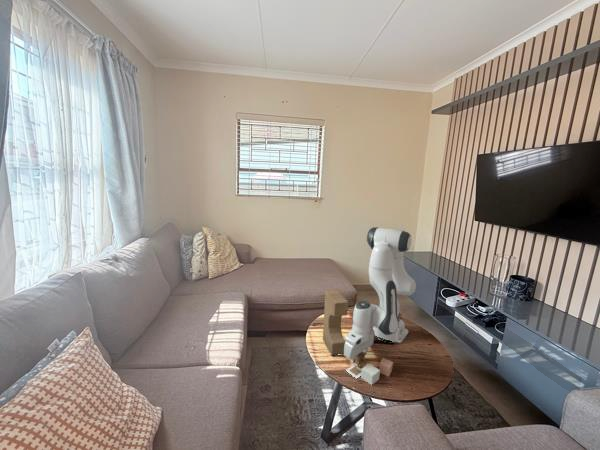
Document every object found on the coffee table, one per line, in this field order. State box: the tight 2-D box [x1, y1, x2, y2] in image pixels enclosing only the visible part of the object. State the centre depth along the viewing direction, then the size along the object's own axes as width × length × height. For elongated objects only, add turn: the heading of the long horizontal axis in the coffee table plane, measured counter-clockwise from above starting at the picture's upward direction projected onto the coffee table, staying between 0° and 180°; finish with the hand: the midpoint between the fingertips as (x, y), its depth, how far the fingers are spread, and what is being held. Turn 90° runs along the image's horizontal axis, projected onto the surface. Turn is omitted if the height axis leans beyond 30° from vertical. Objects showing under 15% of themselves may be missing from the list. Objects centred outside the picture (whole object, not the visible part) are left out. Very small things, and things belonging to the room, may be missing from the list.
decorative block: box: [322, 289, 349, 356], centre depth 148 cm, size 15×8×30 cm, turn 14°
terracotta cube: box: [378, 357, 394, 377], centre depth 133 cm, size 5×5×5 cm
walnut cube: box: [354, 352, 366, 367], centre depth 139 cm, size 5×5×5 cm
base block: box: [360, 362, 381, 386], centre depth 128 cm, size 6×6×5 cm
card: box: [345, 363, 362, 380], centre depth 132 cm, size 7×7×1 cm
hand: (358, 358), depth 139 cm, fingers open, 8 cm apart
